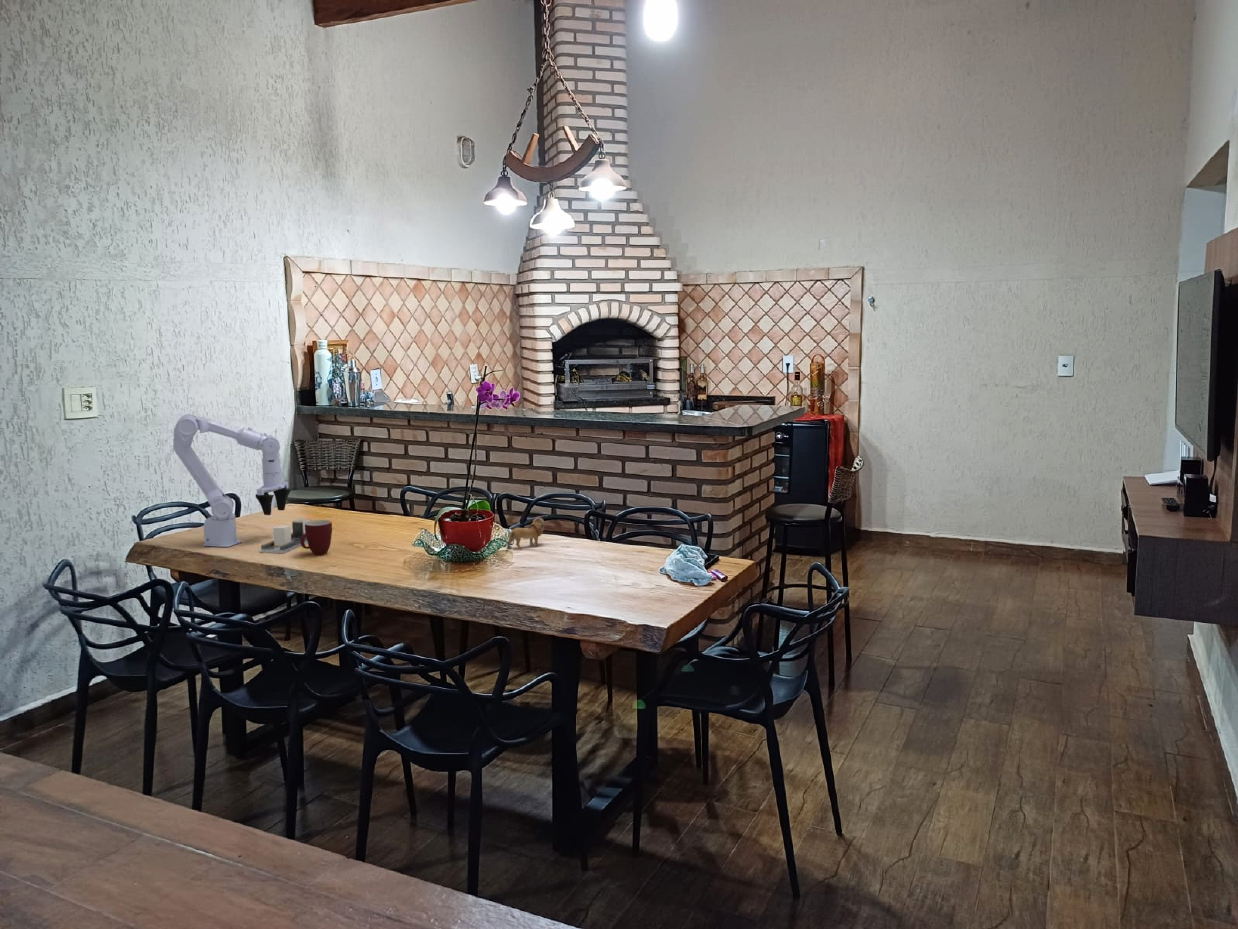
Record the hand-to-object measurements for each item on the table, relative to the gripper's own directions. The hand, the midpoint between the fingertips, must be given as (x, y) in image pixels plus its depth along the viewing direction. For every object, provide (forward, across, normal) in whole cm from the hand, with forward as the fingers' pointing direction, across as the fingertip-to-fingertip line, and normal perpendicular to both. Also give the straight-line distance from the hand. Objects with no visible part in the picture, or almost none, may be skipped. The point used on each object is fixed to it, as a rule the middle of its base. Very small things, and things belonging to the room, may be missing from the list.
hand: (274, 512), depth 295 cm
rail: (+9, -6, -9) cm, 14 cm away
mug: (+10, -14, -24) cm, 30 cm away
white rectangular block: (+8, -10, -9) cm, 16 cm away
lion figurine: (+10, +10, -85) cm, 86 cm away
